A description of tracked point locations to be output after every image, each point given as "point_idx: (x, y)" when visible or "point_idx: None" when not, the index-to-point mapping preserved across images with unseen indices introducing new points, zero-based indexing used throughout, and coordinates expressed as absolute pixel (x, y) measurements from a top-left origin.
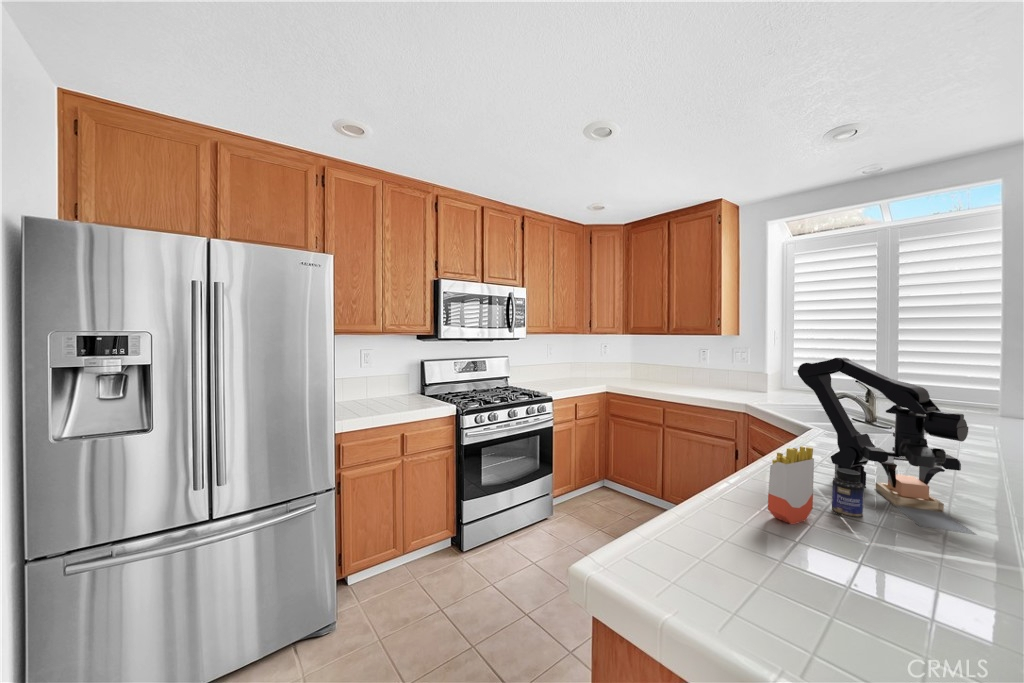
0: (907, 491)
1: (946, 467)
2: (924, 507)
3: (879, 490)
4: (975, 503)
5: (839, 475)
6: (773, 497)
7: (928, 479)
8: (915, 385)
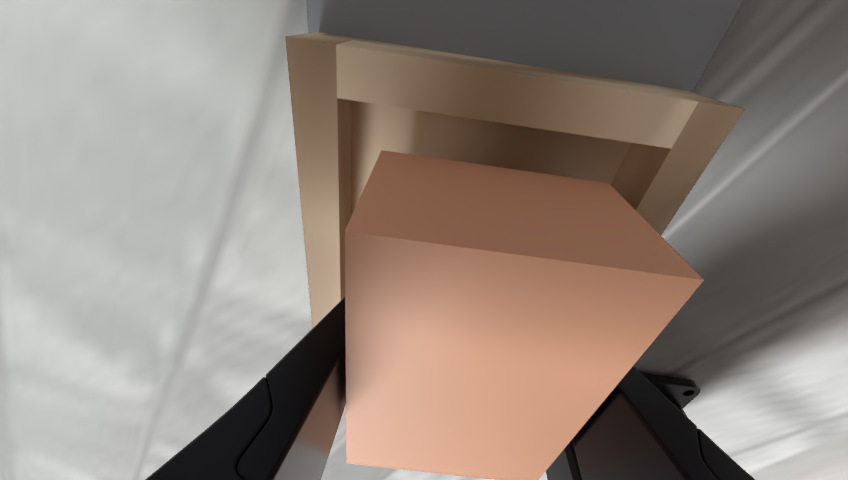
0: (583, 203)
1: None
2: (464, 57)
3: None
4: (82, 311)
5: None
6: None
7: (274, 393)
8: None
